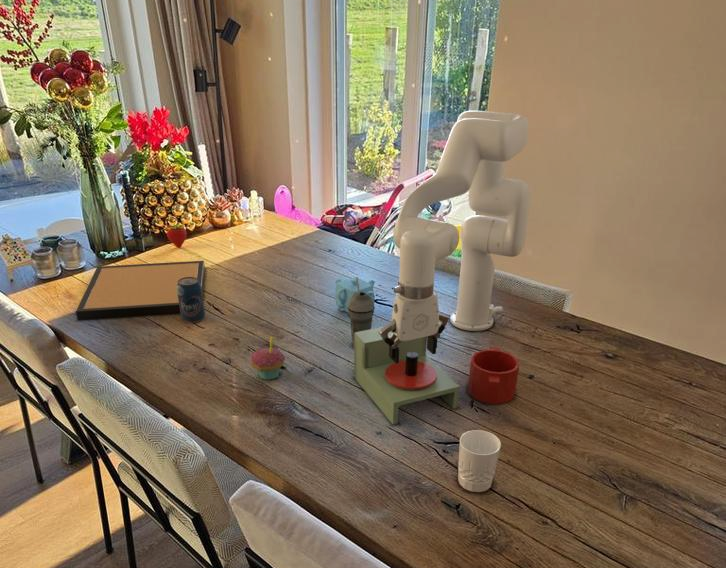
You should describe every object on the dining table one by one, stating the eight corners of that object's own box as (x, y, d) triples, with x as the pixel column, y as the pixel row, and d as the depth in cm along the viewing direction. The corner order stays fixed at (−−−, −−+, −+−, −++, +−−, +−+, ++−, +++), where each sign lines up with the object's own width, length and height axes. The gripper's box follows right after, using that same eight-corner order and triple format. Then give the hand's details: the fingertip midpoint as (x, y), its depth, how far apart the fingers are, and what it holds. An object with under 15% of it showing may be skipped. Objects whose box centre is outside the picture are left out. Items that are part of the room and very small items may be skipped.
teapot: (321, 306, 195) (320, 275, 190) (356, 294, 202) (356, 264, 197) (357, 326, 183) (357, 295, 178) (393, 313, 191) (394, 282, 185)
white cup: (451, 469, 130) (455, 430, 124) (489, 467, 130) (495, 429, 125) (459, 495, 123) (464, 455, 118) (499, 493, 124) (505, 453, 118)
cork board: (200, 312, 191) (205, 268, 220) (199, 303, 189) (203, 260, 219) (77, 320, 186) (99, 274, 215) (75, 311, 184) (97, 266, 213)
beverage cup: (371, 353, 170) (372, 284, 160) (345, 350, 172) (344, 281, 161) (376, 340, 176) (377, 273, 166) (350, 337, 178) (350, 271, 167)
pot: (514, 375, 161) (518, 346, 156) (514, 412, 147) (520, 381, 143) (469, 371, 163) (472, 342, 158) (465, 407, 149) (469, 376, 144)
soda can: (184, 325, 183) (177, 287, 177) (179, 315, 189) (173, 278, 182) (207, 321, 186) (202, 283, 179) (202, 311, 191) (197, 274, 185)
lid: (438, 367, 153) (440, 344, 149) (434, 394, 143) (436, 370, 139) (389, 362, 154) (390, 339, 151) (381, 388, 144) (381, 365, 141)
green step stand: (457, 407, 149) (462, 360, 142) (392, 424, 143) (394, 376, 136) (413, 364, 166) (416, 319, 158) (354, 377, 160) (354, 332, 153)
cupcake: (291, 369, 163) (288, 328, 156) (276, 386, 156) (273, 344, 149) (261, 364, 165) (257, 323, 159) (245, 380, 158) (241, 338, 152)
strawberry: (166, 247, 237) (161, 221, 232) (184, 243, 241) (180, 217, 236) (173, 252, 233) (169, 225, 228) (191, 247, 237) (188, 221, 232)
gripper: (387, 302, 131) (386, 372, 140) (459, 287, 136) (453, 355, 146) (372, 288, 136) (372, 356, 146) (442, 275, 142) (437, 341, 152)
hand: (412, 355), depth 146 cm, fingers open, 9 cm apart
